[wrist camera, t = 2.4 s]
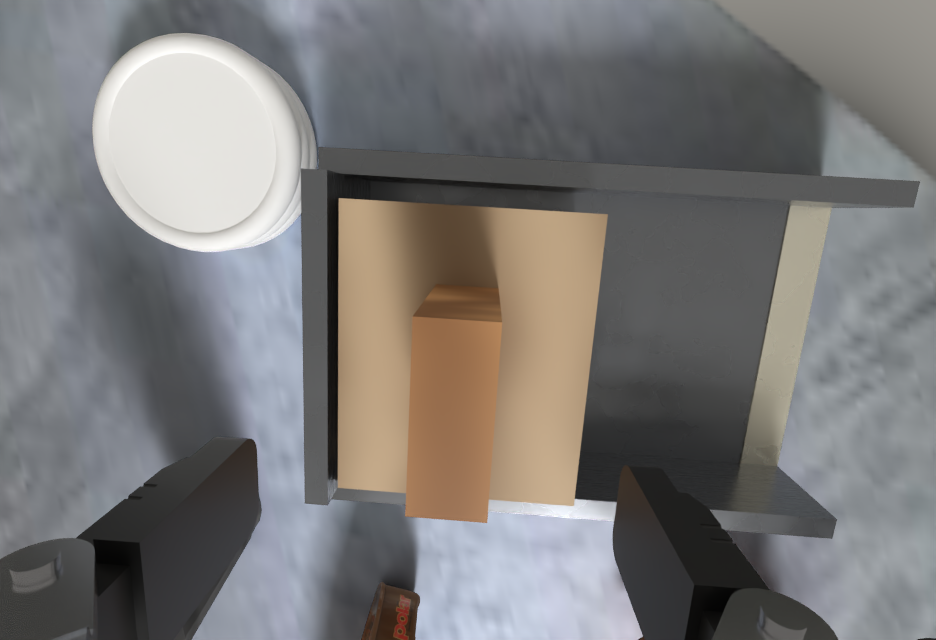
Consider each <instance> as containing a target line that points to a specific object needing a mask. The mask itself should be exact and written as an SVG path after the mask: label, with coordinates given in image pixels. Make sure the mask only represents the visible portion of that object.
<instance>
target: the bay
mask: <svg viewBox="0 0 936 640" xmlns="http://www.w3.org/2000/svg"><path fill="white" fill-rule="evenodd" d="M919 183H920V181H903V180H886V179H868V178H851V177H833V176H816V175H798V174H781V173H763V172H746V171H729V170H711V169H694V168H676V167H659V166H641V165H624V164H606V163H589V162H572V161H554V160H537V159H519V158H502V157H484V156H467V155H449V154H432V153H415V152H397V151H380V150H362V149H345V148H327V147H319V169H303V168H301V232H302V311H303V389H304V468H305V503H306V504H318V505H328V504H329V502H330V500H331V499H336V500H349V501H361V502H374V503H387V504H399V505H406V493H397V492H384V491H372V490H359V489H346V488H338V260H339V198H345V199H362V200H378V201H395V202H411V203H428V204H445V205H461V206H478V207H494V208H511V209H527V210H544V211H560V212H577V213H594V214H608V218H607V226H606V235H605V243H604V252H603V260H602V269H601V277H600V286H599V294H598V303H597V312H596V320H595V329H594V337H593V346H592V354H591V363H590V371H589V380H588V388H587V397H586V405H585V414H584V423H583V431H582V440H581V448H580V457H579V465H578V474H577V482H576V491H575V499H574V506H564V505H551V504H538V503H525V502H512V501H500V500H489V504H488V512H501V513H514V514H526V515H539V516H552V517H564V518H577V519H590V520H602V521H614V519H615V512H616V504H617V497H618V489H619V482H620V475H621V471H622V468H623V467H624V466H625V465H632V466H646V467H660V468H662V469H663V470H664V472H665V473H666V475H667V476H668V478H669V479H670V481H671V482H672V484H673V485H674V487H675V488H676V490H677V491H678V492H681V493H688V494H690V495H691V496H692V497H694V498H695V499H697V500H698V501H699V502H701V503H702V504H703V505H705V506H706V507H708V508H709V510H710V511H711V512H712V514H713V515H714V516H715V518H716V519H717V520H718V522H719V523H720V524H721V528H722V529H724V530H729V531H742V532H755V533H767V534H780V535H793V536H805V537H818V538H831V539H832V537H833V533H834V529H835V525H836V521H837V519H836V518H835V517H834V516H832V515H831V514H830V513H829V512H828V511H827V510H826V509H825V508H823V507H822V506H821V505H820V504H819V503H818V502H817V501H816V500H815V499H813V498H812V497H811V496H810V495H809V494H808V493H807V492H806V491H804V490H803V489H802V488H801V487H800V486H799V485H798V484H797V483H795V482H794V481H793V480H792V479H791V478H790V477H789V476H788V475H786V474H785V473H784V472H783V471H782V470H781V469H780V468H779V467H777V464H778V460H779V455H780V450H781V446H782V441H783V436H784V431H785V427H786V422H787V417H788V412H789V408H790V403H791V398H792V394H793V389H794V384H795V379H796V375H797V370H798V365H799V360H800V356H801V351H802V346H803V341H804V337H805V332H806V327H807V323H808V318H809V313H810V308H811V304H812V299H813V294H814V289H815V285H816V280H817V275H818V270H819V266H820V261H821V256H822V252H823V247H824V242H825V237H826V233H827V228H828V223H829V218H830V214H831V209H832V208H903V207H914V204H915V200H916V196H917V192H918V187H919Z"/></svg>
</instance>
